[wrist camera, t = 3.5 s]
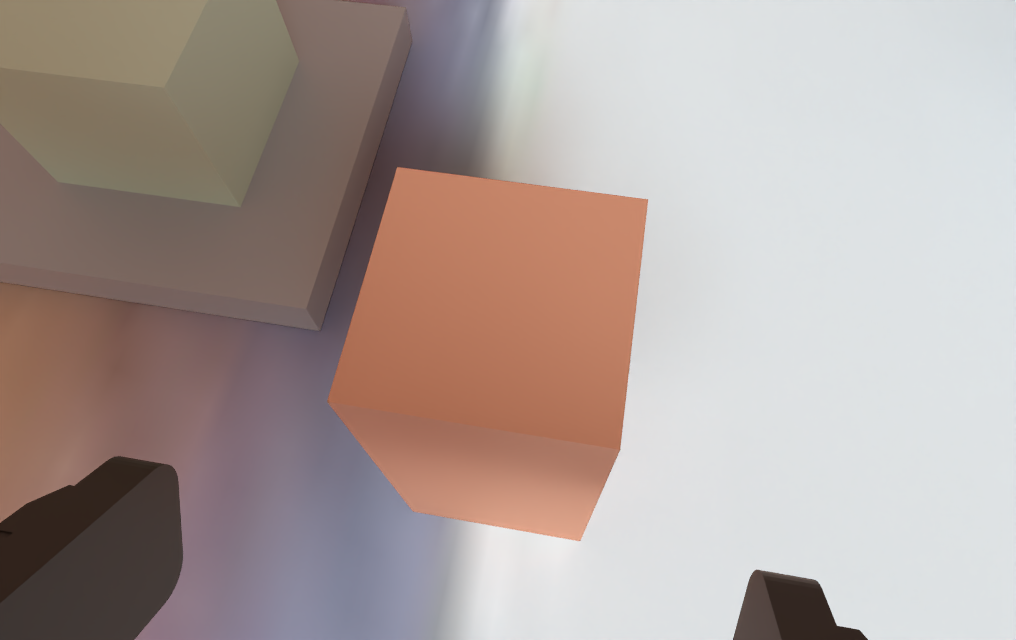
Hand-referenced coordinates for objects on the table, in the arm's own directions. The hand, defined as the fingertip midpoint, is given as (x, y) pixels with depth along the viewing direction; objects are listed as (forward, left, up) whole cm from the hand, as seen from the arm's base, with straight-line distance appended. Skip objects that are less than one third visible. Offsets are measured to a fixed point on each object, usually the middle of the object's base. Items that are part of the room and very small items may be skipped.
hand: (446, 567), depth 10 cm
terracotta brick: (-4, -1, -9) cm, 10 cm away
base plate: (-9, -15, -9) cm, 20 cm away
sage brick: (-9, -15, -7) cm, 19 cm away
